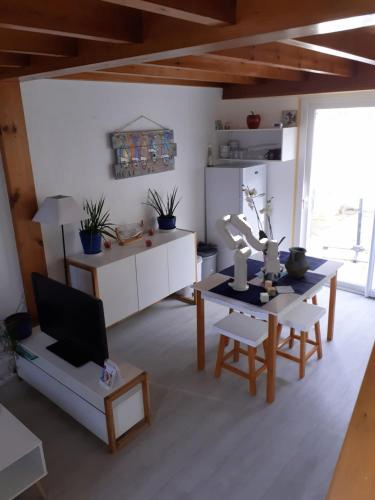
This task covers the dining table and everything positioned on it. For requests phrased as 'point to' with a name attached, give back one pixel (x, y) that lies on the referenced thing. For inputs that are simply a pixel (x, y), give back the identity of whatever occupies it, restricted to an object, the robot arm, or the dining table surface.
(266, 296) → the sage block
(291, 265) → the pitcher
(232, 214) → the robot arm
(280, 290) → the grey mat
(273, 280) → the small box
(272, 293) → the walnut block
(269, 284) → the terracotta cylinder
